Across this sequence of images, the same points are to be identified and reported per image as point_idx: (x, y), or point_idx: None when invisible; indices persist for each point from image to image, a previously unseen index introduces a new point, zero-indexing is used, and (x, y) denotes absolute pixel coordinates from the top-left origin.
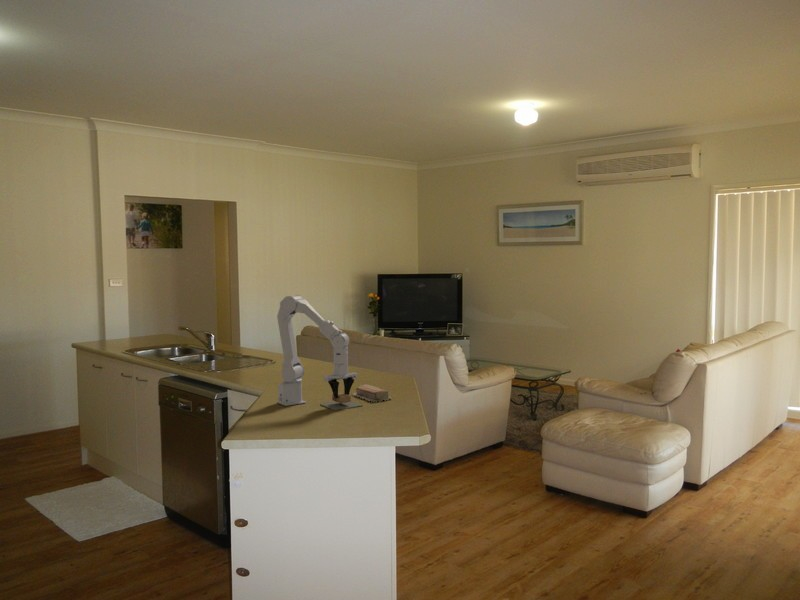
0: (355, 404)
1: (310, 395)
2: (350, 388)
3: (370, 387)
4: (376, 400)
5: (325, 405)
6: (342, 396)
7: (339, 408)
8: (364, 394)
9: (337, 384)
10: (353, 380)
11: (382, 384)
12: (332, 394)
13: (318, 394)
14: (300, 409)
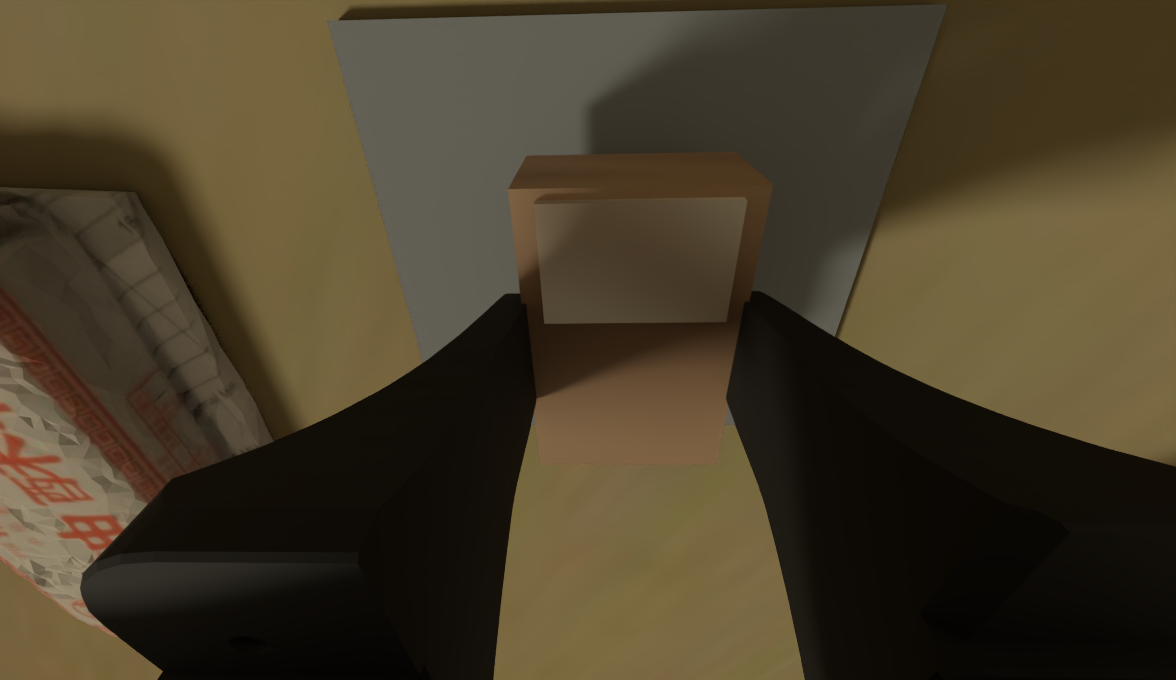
0: (435, 160)
1: (633, 649)
2: (423, 363)
3: (45, 535)
4: (40, 195)
5: None
6: (716, 199)
7: (819, 29)
8: (196, 451)
9: (999, 458)
10: (151, 517)
11: (39, 661)
12: (718, 453)
13: (570, 647)
14: (1124, 359)
